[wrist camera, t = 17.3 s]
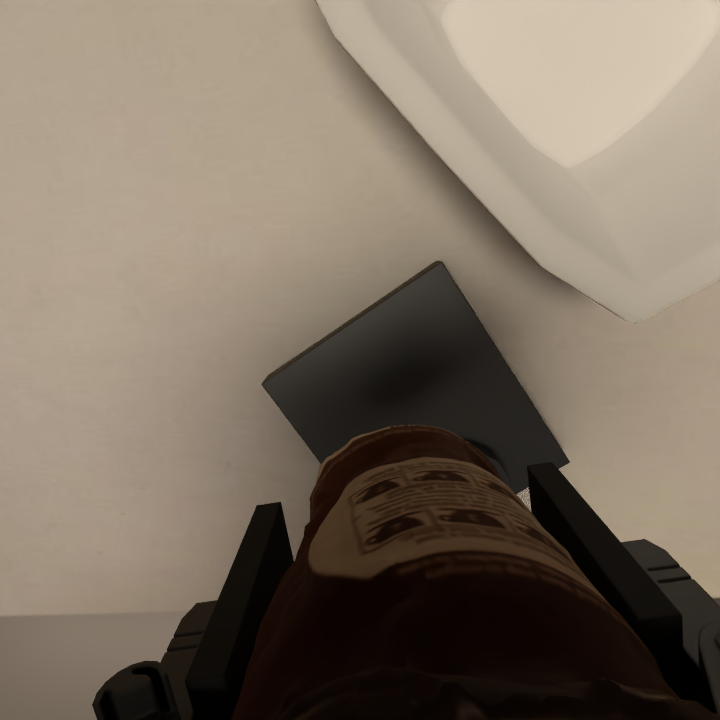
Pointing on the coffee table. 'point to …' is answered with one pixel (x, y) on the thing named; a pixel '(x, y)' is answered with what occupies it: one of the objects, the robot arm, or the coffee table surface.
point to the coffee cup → (441, 604)
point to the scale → (415, 380)
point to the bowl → (567, 127)
